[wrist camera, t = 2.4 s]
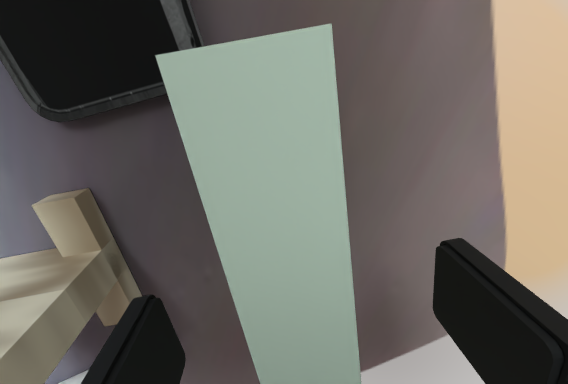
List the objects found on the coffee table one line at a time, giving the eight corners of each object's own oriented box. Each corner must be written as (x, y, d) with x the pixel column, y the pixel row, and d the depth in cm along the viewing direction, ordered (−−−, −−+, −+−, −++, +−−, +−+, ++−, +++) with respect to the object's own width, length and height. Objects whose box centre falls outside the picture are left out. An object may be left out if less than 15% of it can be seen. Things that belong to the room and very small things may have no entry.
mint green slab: (321, 338, 19) (377, 574, 10) (294, 344, 19) (324, 585, 10) (278, 65, 12) (332, 23, 3) (234, 73, 12) (154, 55, 3)
